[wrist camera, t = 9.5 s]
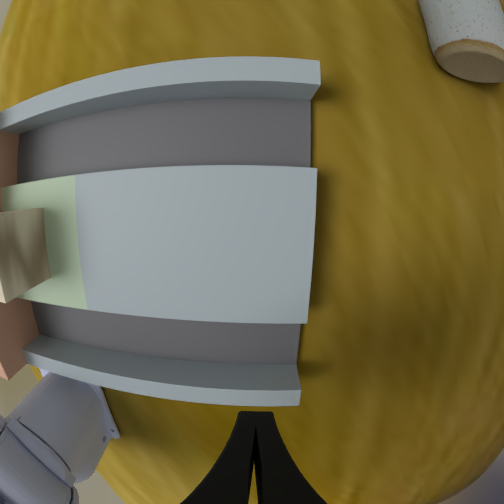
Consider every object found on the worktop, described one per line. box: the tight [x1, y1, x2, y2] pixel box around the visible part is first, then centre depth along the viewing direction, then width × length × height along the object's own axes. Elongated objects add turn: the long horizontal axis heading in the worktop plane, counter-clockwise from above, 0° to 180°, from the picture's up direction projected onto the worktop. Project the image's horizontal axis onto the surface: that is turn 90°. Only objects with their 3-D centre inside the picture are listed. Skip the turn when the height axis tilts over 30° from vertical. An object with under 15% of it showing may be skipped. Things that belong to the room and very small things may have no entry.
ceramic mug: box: [418, 0, 504, 83], centre depth 10 cm, size 11×8×8 cm
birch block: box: [0, 208, 51, 303], centre depth 13 cm, size 5×5×5 cm
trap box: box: [0, 57, 321, 406], centre depth 15 cm, size 21×24×6 cm
